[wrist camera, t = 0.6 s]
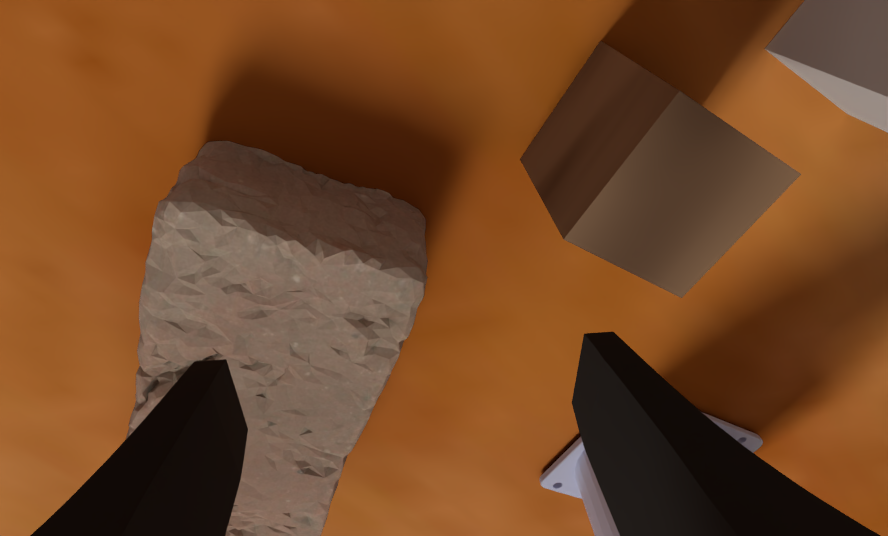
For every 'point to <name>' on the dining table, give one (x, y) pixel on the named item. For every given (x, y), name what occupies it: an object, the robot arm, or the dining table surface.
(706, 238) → the walnut block
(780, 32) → the grey block
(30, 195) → the dining table surface
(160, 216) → the brick
